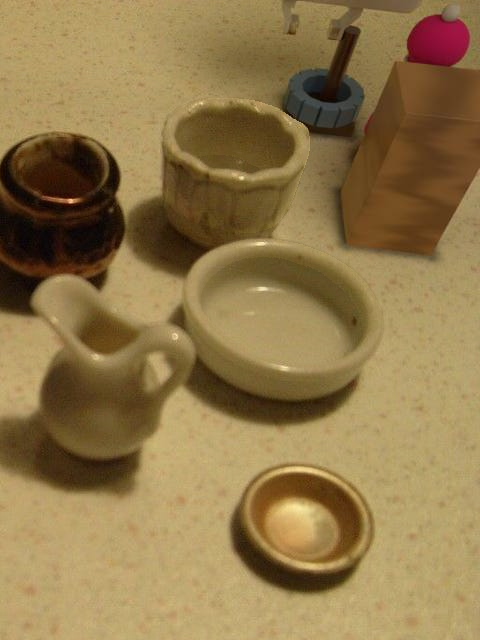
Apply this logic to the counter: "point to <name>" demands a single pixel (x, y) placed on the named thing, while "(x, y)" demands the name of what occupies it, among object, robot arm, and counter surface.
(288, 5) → the robot arm
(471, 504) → the counter surface
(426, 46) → the pepper mill
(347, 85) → the ring
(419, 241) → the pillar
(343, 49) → the stand
